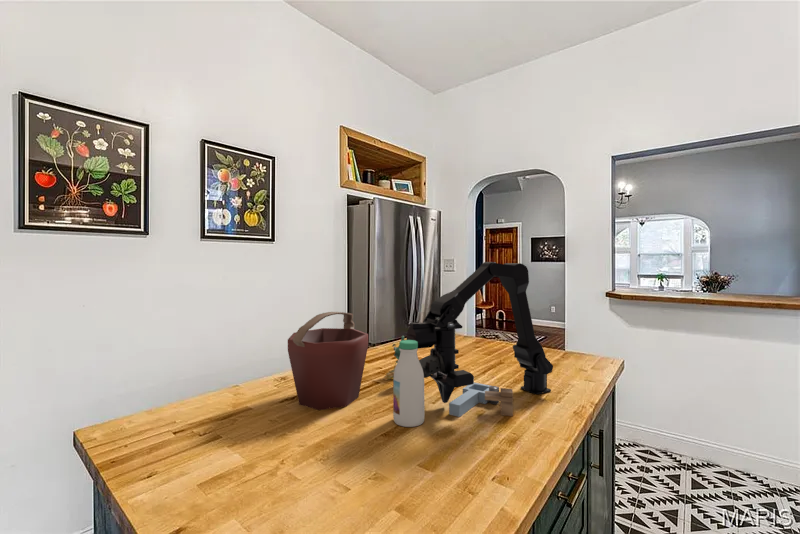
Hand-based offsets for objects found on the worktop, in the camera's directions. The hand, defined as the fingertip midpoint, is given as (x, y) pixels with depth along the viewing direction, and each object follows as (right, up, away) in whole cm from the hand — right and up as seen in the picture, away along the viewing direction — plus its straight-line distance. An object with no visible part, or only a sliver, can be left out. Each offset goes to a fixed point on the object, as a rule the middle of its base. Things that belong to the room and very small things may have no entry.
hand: (444, 402), depth 105 cm
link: (+7, -1, +2) cm, 7 cm away
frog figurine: (-11, -1, +30) cm, 32 cm away
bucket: (-32, -2, +6) cm, 33 cm away
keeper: (+14, -1, -4) cm, 14 cm away
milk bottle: (-10, -2, -9) cm, 14 cm away
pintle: (+14, -1, +3) cm, 14 cm away
